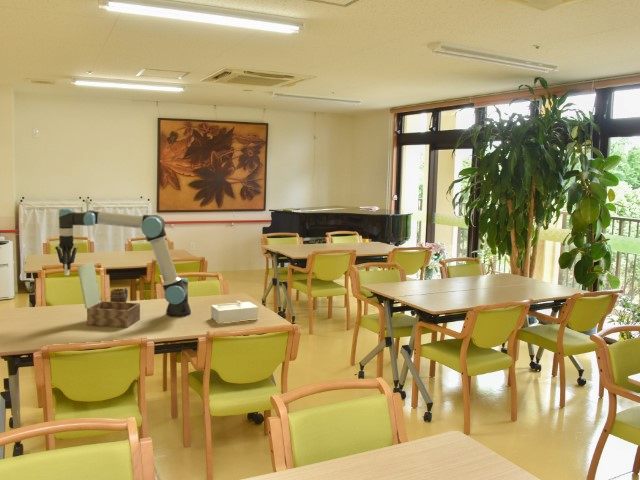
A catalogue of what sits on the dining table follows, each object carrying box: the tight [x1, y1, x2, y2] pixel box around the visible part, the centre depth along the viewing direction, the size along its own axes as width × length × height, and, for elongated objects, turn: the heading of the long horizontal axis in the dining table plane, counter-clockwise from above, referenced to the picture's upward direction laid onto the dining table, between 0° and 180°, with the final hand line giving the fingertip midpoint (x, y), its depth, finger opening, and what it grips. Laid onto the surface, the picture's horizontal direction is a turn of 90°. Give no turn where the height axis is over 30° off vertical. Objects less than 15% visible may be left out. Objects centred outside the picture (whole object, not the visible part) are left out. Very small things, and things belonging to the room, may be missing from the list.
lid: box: [77, 261, 102, 310], centre depth 343 cm, size 24×18×1 cm
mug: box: [109, 287, 129, 303], centre depth 366 cm, size 16×11×15 cm
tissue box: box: [210, 300, 259, 324], centre depth 359 cm, size 14×25×11 cm, turn 118°
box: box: [86, 300, 141, 329], centre depth 344 cm, size 24×18×10 cm
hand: (67, 275), depth 344 cm, fingers closed
